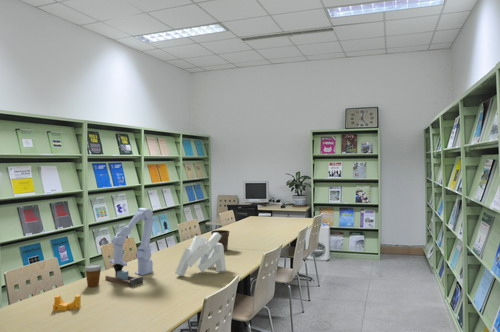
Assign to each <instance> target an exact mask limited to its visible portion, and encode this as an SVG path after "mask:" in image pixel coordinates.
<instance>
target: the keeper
mask: <svg viewBox="0 0 500 332" xmlns="http://www.w3.org/2000/svg"><path fill="white" fill-rule="evenodd" d="M128 275H129V270H125V269H122V270H121V271H118V272H117V277H116V278H119V279H123V280H127V281H129V280H128Z"/></svg>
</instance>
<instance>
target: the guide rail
mask: <svg viewBox="0 0 500 332" xmlns="http://www.w3.org/2000/svg"><path fill="white" fill-rule="evenodd" d="M114 275H115V277H114V276H110V275H105V276H104V277H105V280H106V281H109V282H113V283H116V284H121V285H123V286H129V287H135V286H138V285H141V284H143V283H144V275H140V276H138V277H136V276H132V275H129V274H128V281H127V280H123V279H119V278H117V276H116V272H115V274H114Z"/></svg>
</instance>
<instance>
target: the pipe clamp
mask: <svg viewBox="0 0 500 332" xmlns="http://www.w3.org/2000/svg"><path fill="white" fill-rule="evenodd" d="M81 297H82V295H81V294H76V295H75V296H74V300H73V301H71V302H65V301H64V300H63V299H62V297H61V295H59V294H57V295H55V296H54V299H53V300H54V303H53V304H52V311H53V312H57V311H59V312H61V311H67V310H75V309H80V308H81V307H82V306H81Z"/></svg>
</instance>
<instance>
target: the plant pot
mask: <svg viewBox="0 0 500 332" xmlns="http://www.w3.org/2000/svg"><path fill="white" fill-rule="evenodd" d="M216 232H218V233H219V234H220V235H221V238H220V240H219V241H218V243H221V244H222V245H223V248H224V252H226V251H228V246H229V236H230V233H231V232H230V230H228V229H227V230H226V229H222V230H221V229H218V230H212V231H210V233H211V235H212V234H213V233H216Z"/></svg>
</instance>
